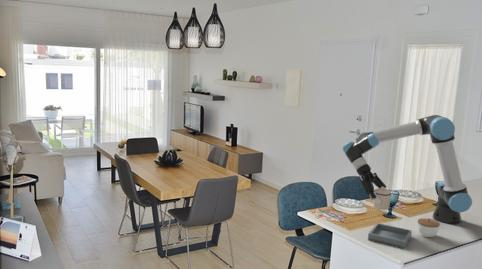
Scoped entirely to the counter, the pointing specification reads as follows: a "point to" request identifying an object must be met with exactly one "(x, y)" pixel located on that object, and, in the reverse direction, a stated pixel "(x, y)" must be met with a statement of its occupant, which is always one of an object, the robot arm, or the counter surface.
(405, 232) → the tray
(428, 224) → the lidded jar
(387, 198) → the teacup with lid
